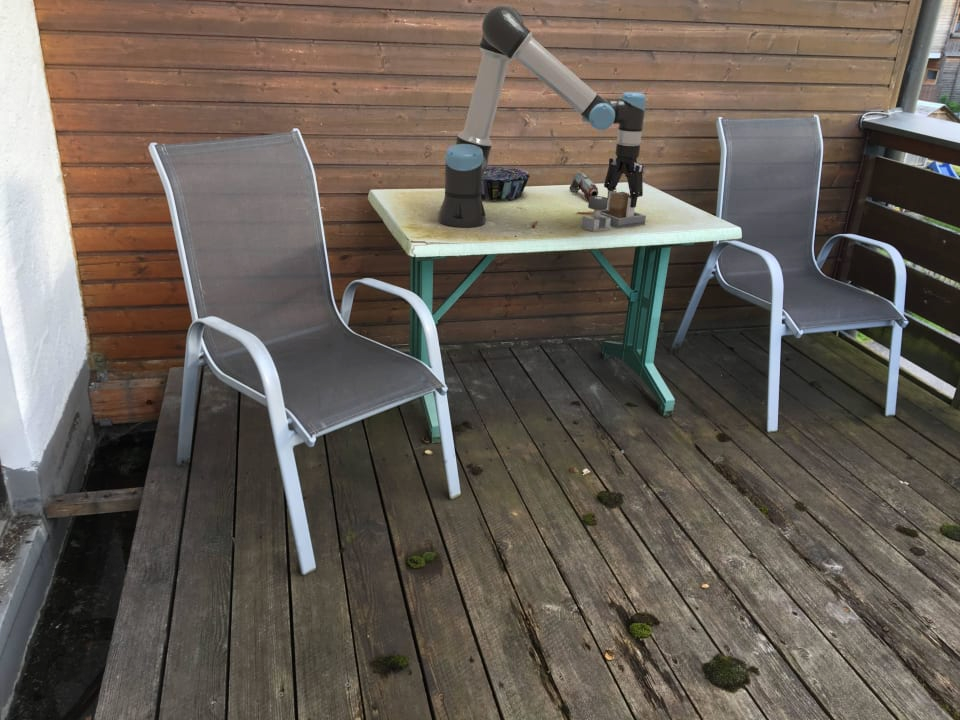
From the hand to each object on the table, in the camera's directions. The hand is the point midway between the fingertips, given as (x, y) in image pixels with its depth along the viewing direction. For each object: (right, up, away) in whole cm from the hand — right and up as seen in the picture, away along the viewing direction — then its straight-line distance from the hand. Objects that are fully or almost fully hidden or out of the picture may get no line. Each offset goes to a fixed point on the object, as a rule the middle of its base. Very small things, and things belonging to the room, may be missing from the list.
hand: (620, 213), depth 256 cm
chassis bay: (0, -3, +1) cm, 3 cm away
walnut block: (0, -2, +1) cm, 2 cm away
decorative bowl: (-42, +12, +30) cm, 53 cm away
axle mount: (-9, -6, -8) cm, 14 cm away
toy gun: (-8, +12, +34) cm, 37 cm away
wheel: (-9, -3, -9) cm, 13 cm away
